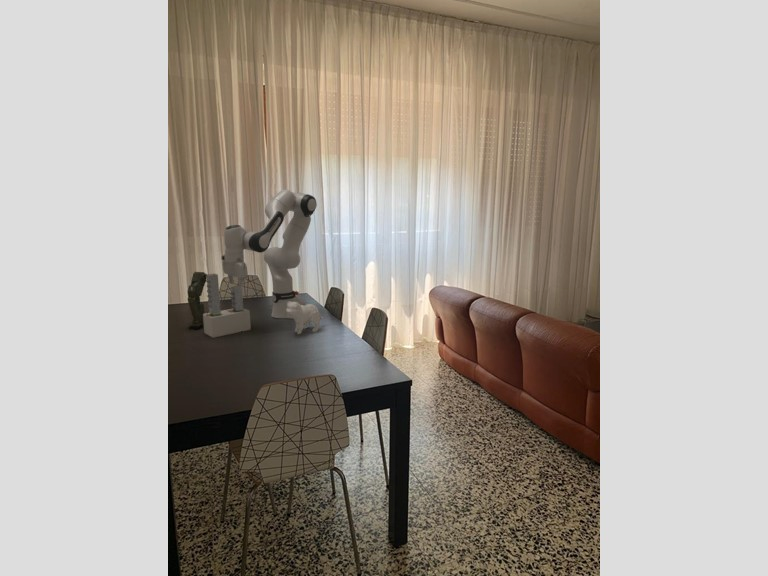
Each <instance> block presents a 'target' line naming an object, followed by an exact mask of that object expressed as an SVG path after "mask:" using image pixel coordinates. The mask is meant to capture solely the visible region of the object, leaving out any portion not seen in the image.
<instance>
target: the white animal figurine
mask: <svg viewBox="0 0 768 576" xmlns="http://www.w3.org/2000/svg"><path fill="white" fill-rule="evenodd" d="M286 312H287V314H288V315H289V316H292V317H293V318H292V319H293V320H294V321H295V330H294V332H295V333H297V335H301V334H303V329H307V328H309V322H311V323H313V324H314V326H313V327H314V328H312V331H311V332H312V333H315V332H317V331H318V330H319V328H320V327H319V326H320V322H321V319H324V317H323V316H322V315H321V313H320V311H319V309H318V308H317V306H316V305H314V304H312V303H307V304H305V306H304V305H300V304H299V303H297V302H290V301H289V302H288V303H287V309H286Z"/></svg>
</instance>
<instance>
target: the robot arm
mask: <svg viewBox="0 0 768 576" xmlns="http://www.w3.org/2000/svg"><path fill="white" fill-rule="evenodd" d="M317 206H318V205H317V200H316V197H314V196H313V195H311V194H308V193H302V192H292V191H291V190H290V189H282V190H280V191H278V192H277V193H276V194H275V195H274V196H273V197H272V198H270V199H269V200H268V202H267V204H266V205H265V207H264V213H265V215H266V217H267V219H269V220H268V222H267V223H266V224H265V226H264V227H263V228H262V230H259V231H251V230H247V229H245V228H244V227H242V225H239V224H232V225H229V226H226V228H225V230H224V235H223V236H224V238H223V239H224V246H225V250H224V254H223V255H221V261H222V271H223V273H224V274H225V275H227V278H228V282H229V284H234V283H235V280H234V278H237V279H238V282H237V286H240V287H243V284H244V283H243V282H244V279H248V276H249V275H248V273H249V272H248V267H247V263H245V257H244V256H245V255H244V254H245V253H244V250H247V251H251V252H252V251H253V252H256V253H263V260H264V262H265V264H266V265H267V266H268V269H269V272H270V275H271V279H272V291H271V292H272V294H271V295H272V302H273V303H272V310H271V311H272V312H271V315H270V316H271V317H272V318H276V319H293V317H292V316H289V315H288V314H287V312H286V309H287V303H288V302H289V301H290V302H297V303H299V304H300V305H304V306H305V305H306V304H305V301H304V300H301V299H300V298H298V297H297V296H298V295H299V294H300V292H299V291H297V290H294V288H293V283H294V282H293V276H292V275H291V274H290V271H289V269H290V270H291V269H295V268H298V266H299V265H300V263H301V257H300V256H301V255H300V253H299V251H300V247H301V243H303V240H304V238H305V236H306V234H307V232H308V230H309V227H310V225H311V221H312V217H311V216H312V215H313V214H314V212H315V210H316V209H317ZM289 212H293V215H292V218H291V219H290V220H289V223H288V224H287V226H286V227H285V230H284V232H283V233H282V239H283V243H282V246H281V247H279V246H278V247H277V246H275V247H273V246H272V247H270V244H271V242H272V240H273V238H274V236H275V235H276V233H277V232H278V230H279V229H280V227H281V226H282V224H283V223H284V220H285V217H286V215H287V214H288V213H289Z"/></svg>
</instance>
